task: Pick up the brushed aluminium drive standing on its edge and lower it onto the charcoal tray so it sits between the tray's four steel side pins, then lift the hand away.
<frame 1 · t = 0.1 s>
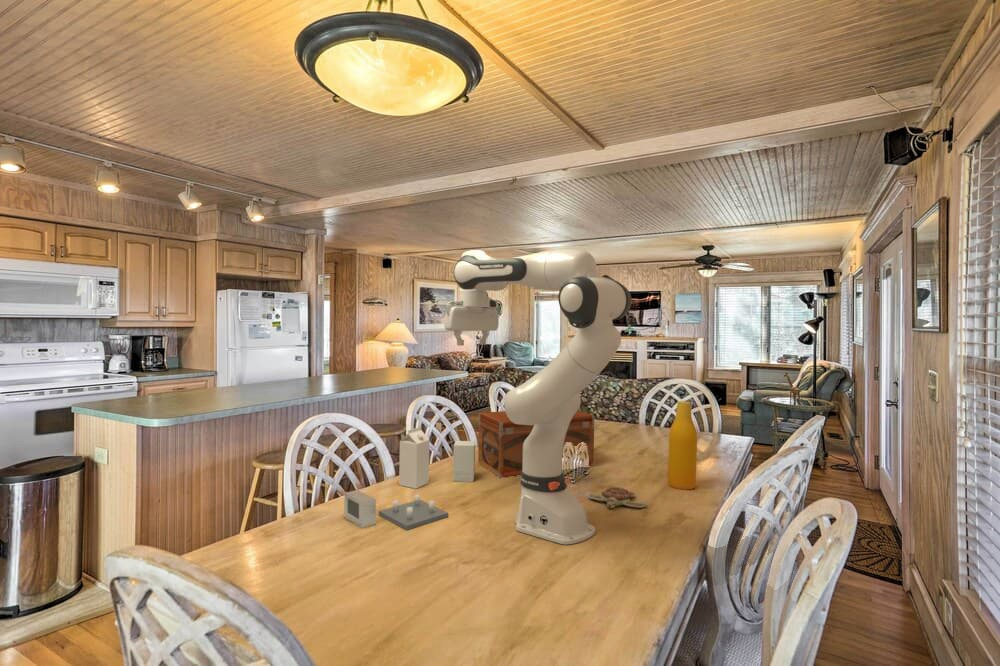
hand: (471, 345, 164), 48 cm above the table, tool pointing down, fingers open, 8 cm apart
aluminium drive: (359, 521, 142), on the table
decorative turtle: (616, 504, 160), on the table
supplement box: (463, 479, 181), on the table
pin tray: (413, 516, 146), on the table
wooden box: (535, 465, 200), on the table
beer bottle: (681, 486, 177), on the table
milk carton: (413, 485, 173), on the table
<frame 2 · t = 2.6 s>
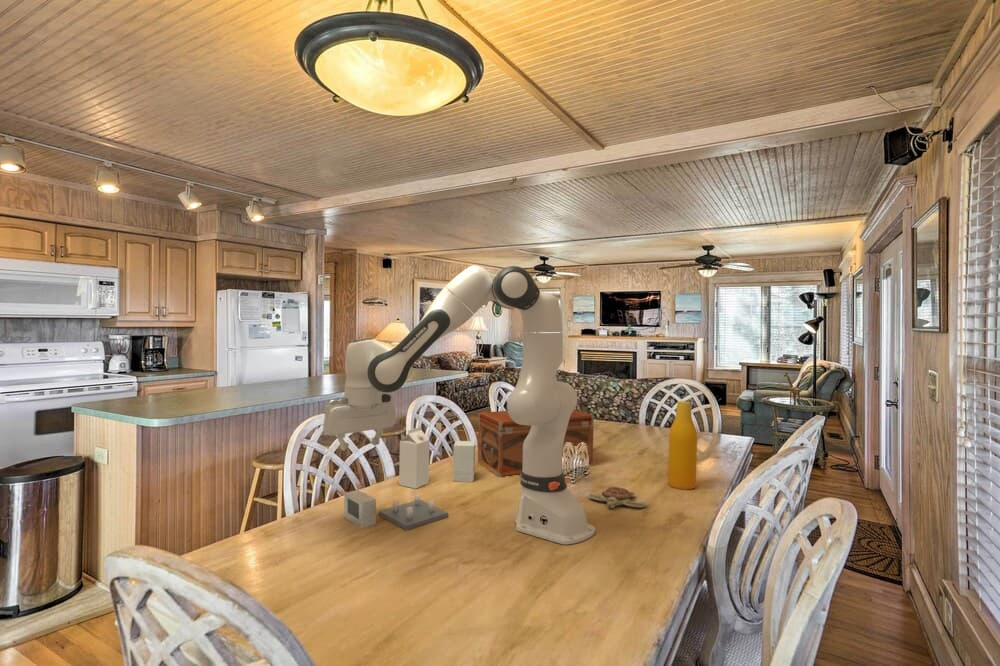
hand: (360, 447, 141), 20 cm above the table, tool pointing down, fingers open, 8 cm apart
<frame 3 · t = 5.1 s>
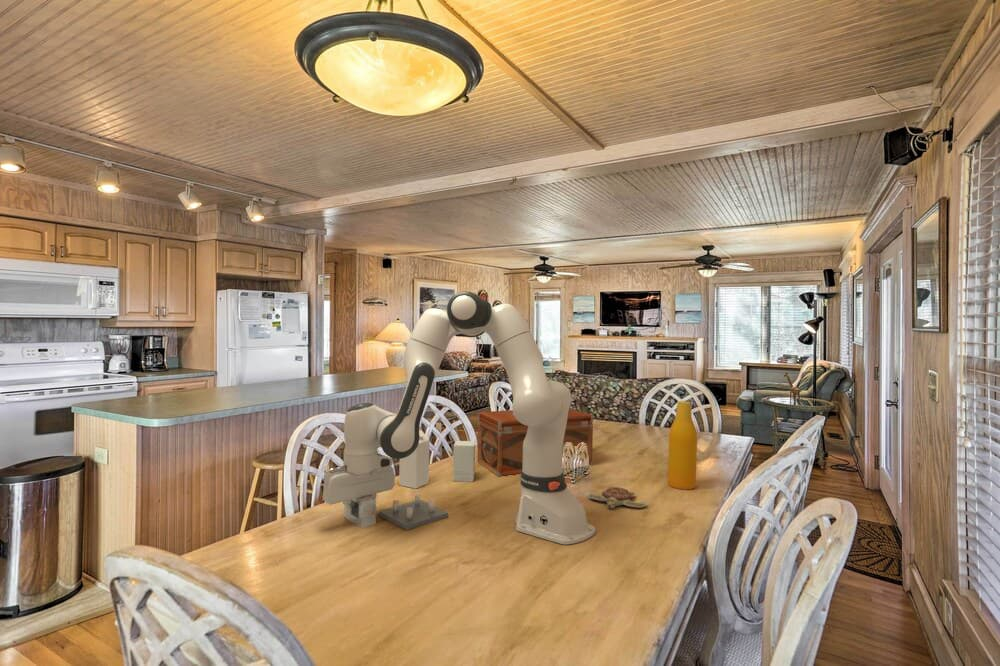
hand: (359, 512, 142), 2 cm above the table, tool pointing down, fingers closed on aluminium drive, 4 cm apart
aluminium drive: (359, 520, 142), on the table, touching gripper
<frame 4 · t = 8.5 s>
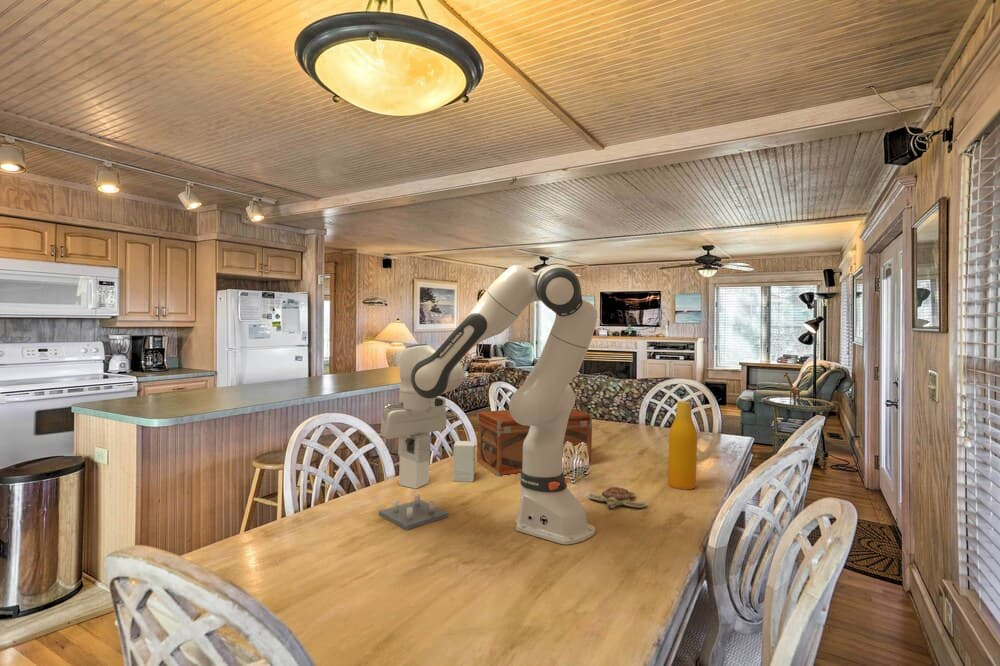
hand: (414, 449, 145), 19 cm above the table, tool pointing down, fingers closed on aluminium drive, 4 cm apart
aluminium drive: (413, 457, 145), point 17 cm above the table, touching gripper
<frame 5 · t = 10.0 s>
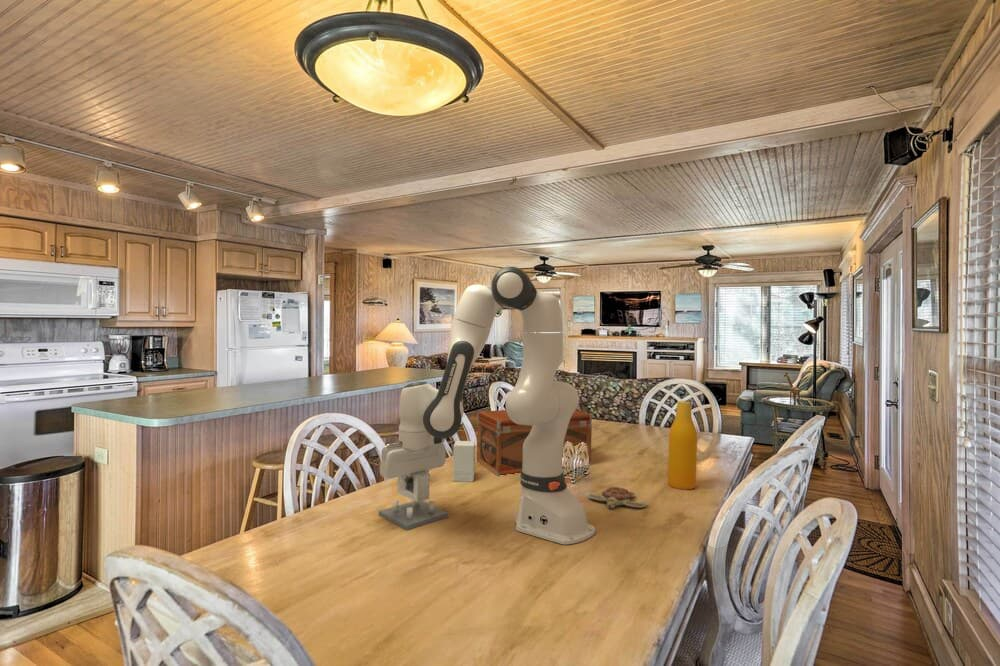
hand: (413, 487, 145), 8 cm above the table, tool pointing down, fingers closed on aluminium drive, 4 cm apart
aluminium drive: (413, 495, 146), point 6 cm above the table, touching gripper
when the fingers open (4 cm above the table, at t = 11.5 s): aluminium drive stays where it is, resting on pin tray.
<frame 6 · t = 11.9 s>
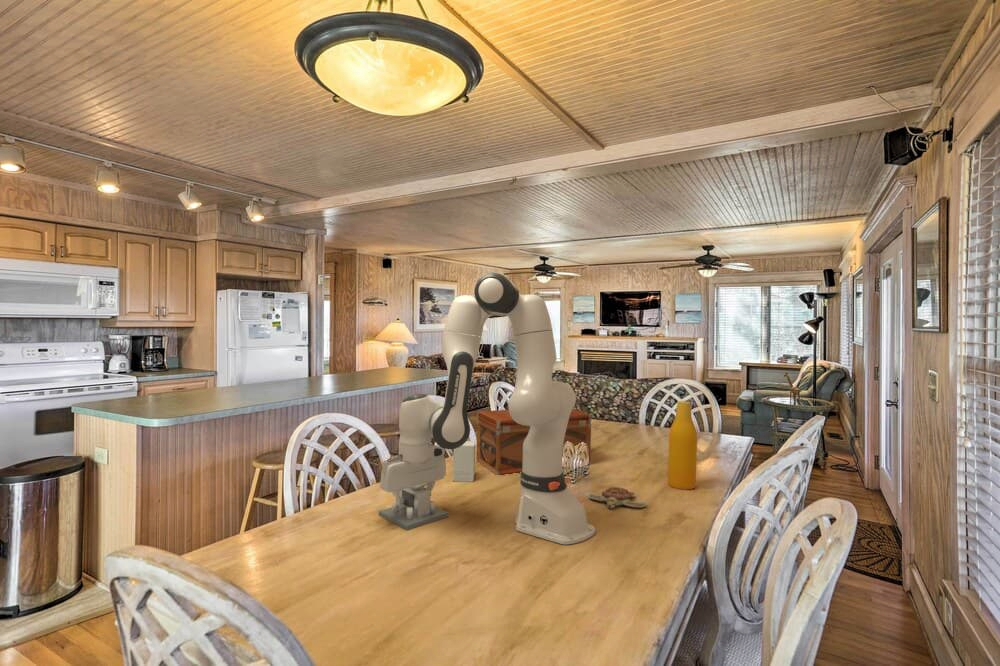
hand: (413, 500, 145), 4 cm above the table, tool pointing down, fingers open, 8 cm apart
aluminium drive: (413, 511, 146), point 1 cm above the table, touching pin tray
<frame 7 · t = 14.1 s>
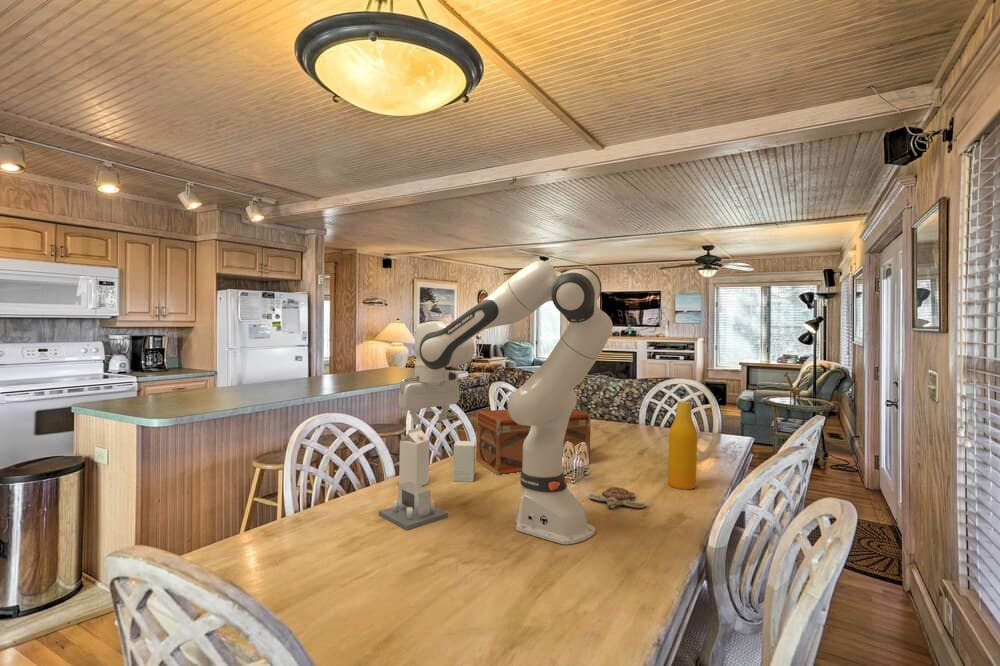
hand: (429, 422, 152), 26 cm above the table, tool pointing down, fingers open, 8 cm apart
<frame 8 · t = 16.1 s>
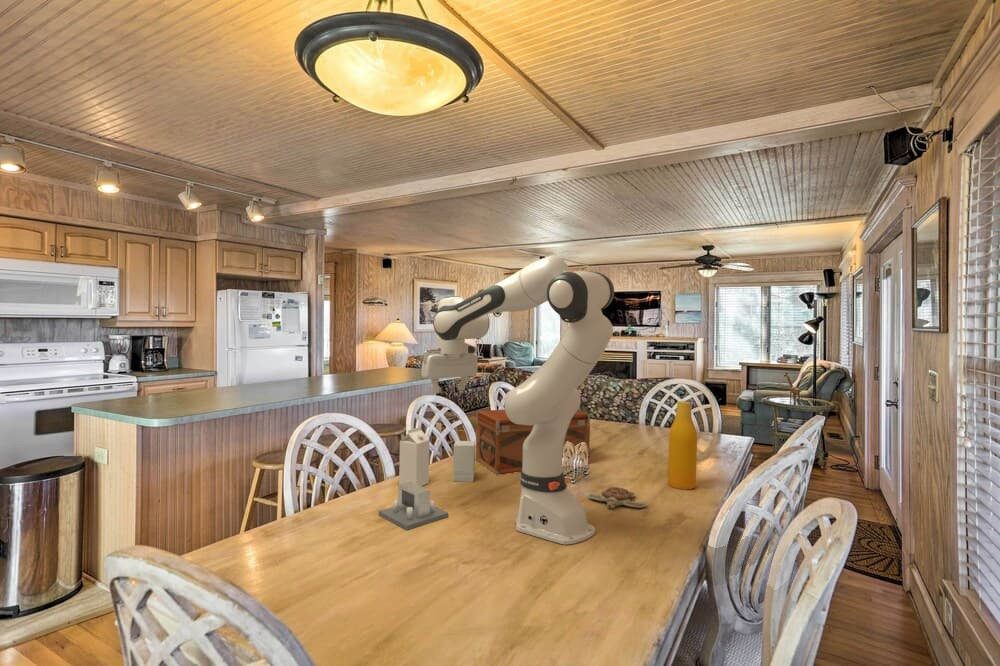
hand: (449, 391, 162), 33 cm above the table, tool pointing down, fingers open, 8 cm apart
at the end: aluminium drive 0.1 cm off-centre on the pin tray, point 1.2 cm above the pin tray's base; aluminium drive tilted 0°; the gripper is holding nothing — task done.
